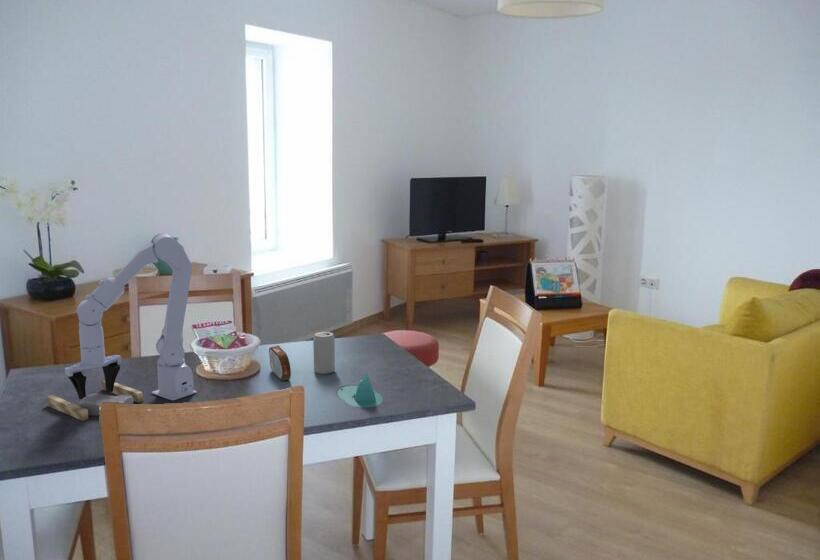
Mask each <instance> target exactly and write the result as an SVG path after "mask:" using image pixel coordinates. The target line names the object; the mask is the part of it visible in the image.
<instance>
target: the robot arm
mask: <svg viewBox="0 0 820 560" xmlns="http://www.w3.org/2000/svg"><path fill="white" fill-rule="evenodd" d="M158 259H160V260H162V261H163V262H165V263H166V264H168V266H169V267H170V269H171V271H172V273H171V280H170V285H169V294H168V298H167V299H168V301H167V306H166V313H165V320H164V326H163V327H162V329H161V335H160V336H159V338H158V340H157V342H156V344H155V348H156V352H157V353H158V354H159V357H158V359H157V361H156V366H157V370H156V371H157V381H158V383H157V384H158V386H157V387H158V389H156V390H153V391H151V394H152V395H155V396H159V397H161V398H164V399H166V400H169V401H176V400H179V399H181V398H186V397H188V396H191V395H194V394H196V393H197V390H195V388H194V385H195V384H194V374H193V373H194V372H193V370H192V369H191V367H189V366H188V365H187V363H186V361H185V353H186V351H185V348H184V344H183V342H184V335H183V328H184V322H185V317H186V310H187V303H188V298H189V291H190V286H191V279H192V271H193V264H192V263H191V261H190V259H189V256H188V255H187V252H186V251H185V248H184V246H183V245H182V244H181V243H180V242H178V240H176V239H175V238H174V237H173V236H172V235H171V234H169V233H167V232H161V233H157V234H155V235H154V236H153V237H152V239H151V240H148V241H147V242H146V243H145V244H144V245H143V246H142V247H141V248H139V250H138V251H137V252H136V253H135V254H134V255H133V256H132V257H131V258H130V260H129V261H128V262H127V263H126V264H124V266H123V267H122V268H121V270H119V272H118V273H117V274H116V275H115V276H112V277H106V278H105V279H104V280H103V279H101V280H100V281H99V282H98V286H97V287H96V288H95V289H94V290H93V291H92V292H91V294H87V295H86V296H85V299H84V300H82V301H80V303H79V304H78V305H77V309H76V315H77V318H78V320H79V321H78V328H79V329H78V335H79V336H78V337H79V347H80V348H79V349H80V360H81V361H80V362H77V363H75V364H73V365H71V366H68V367H64V375H65V376H67V378H68V379H69V380H70V382H71V383H72V385H73V386H74V389H75V391H76V392H77V397H78V399H79V400H81V399H83V398H84V397H86V396H87V394H86V393H87V391H86V385H87V383H86V381H87V376H86V375H84V373H85V372H88V371H92V370H97V369H100V368H102V371H103V375H104V380H105V385H106V390H105V391H106V392H108V391H109V393H111V392H113V388H114V383H116V379H117V375H118V374H119V372H120V371H121V365H120V364H121V363H122V355H118V354H114V355H108V356H106V349H105V338H104V337H105V336H104V328H103V326H102V320H103V316H104V312H106V311H108V310H109V309H110V308H111V307H112V306H113V305H114V304H115V303H116V302H117V301H118V300H119V299H120V297H122V296H123V294H124V293H125V285H127V283H129V282H130V281H131V280H132V279H133V278H134V277H135V276H136V275H137V274H138V273H139V272H141V270H142V269H143V268H144V267H146V266H147V265H149V264H150V265H151V264H155V263H159V261H158Z"/></svg>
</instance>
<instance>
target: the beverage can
mask: <svg viewBox="0 0 820 560" xmlns="http://www.w3.org/2000/svg"><path fill="white" fill-rule="evenodd" d="M335 339H336V337H335V336H334V333H333V332H331V331H320V332H315V333H314V336H313V339H312V341H313V344H312V345H313V371H314V372H315V373H316V374H317V375H318V374H319V375H329V374H332V373H334V371H335V370H336V357H335V356H336V355H335V354H336V351H335V350H336V348H335V345H336V344H335V343H336V342H335V341H336V340H335Z"/></svg>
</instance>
